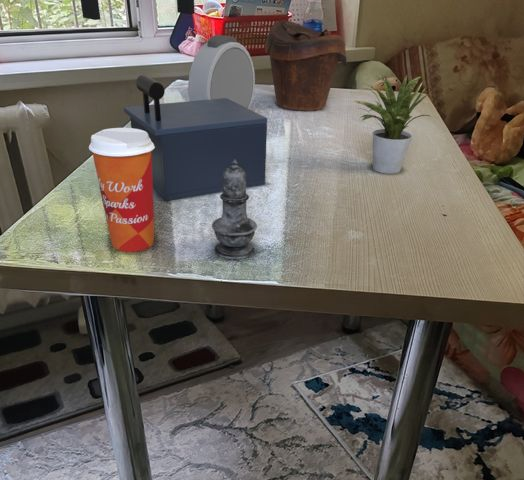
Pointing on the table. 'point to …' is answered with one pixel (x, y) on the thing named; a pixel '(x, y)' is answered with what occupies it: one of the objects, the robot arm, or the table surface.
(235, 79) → the alarm clock
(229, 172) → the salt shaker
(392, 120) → the house plant
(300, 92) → the brown bucket
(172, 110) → the lid
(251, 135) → the dark blue open box
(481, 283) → the table surface
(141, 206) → the paper cup
